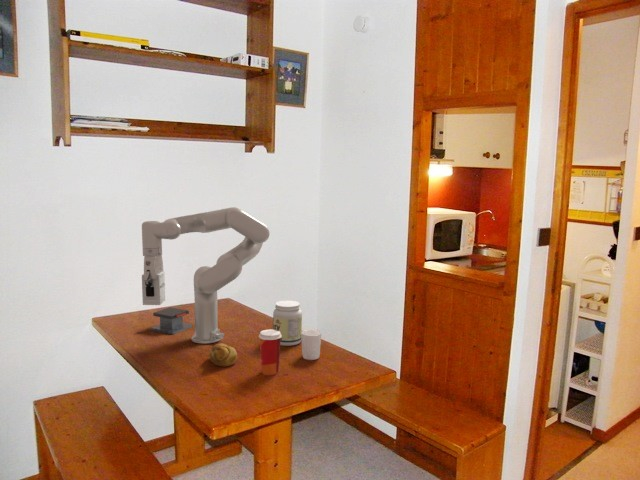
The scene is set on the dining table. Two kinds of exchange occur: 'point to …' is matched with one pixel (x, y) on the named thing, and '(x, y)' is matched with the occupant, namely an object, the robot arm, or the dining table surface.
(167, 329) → the jack stand
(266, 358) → the coffee cup
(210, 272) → the robot arm
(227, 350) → the bread roll
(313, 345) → the white cup
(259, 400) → the dining table surface
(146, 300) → the supplement box
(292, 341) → the supplement tub
